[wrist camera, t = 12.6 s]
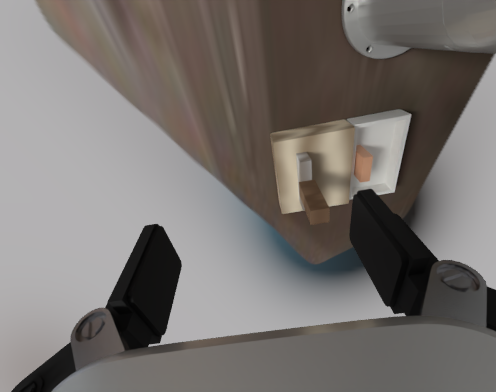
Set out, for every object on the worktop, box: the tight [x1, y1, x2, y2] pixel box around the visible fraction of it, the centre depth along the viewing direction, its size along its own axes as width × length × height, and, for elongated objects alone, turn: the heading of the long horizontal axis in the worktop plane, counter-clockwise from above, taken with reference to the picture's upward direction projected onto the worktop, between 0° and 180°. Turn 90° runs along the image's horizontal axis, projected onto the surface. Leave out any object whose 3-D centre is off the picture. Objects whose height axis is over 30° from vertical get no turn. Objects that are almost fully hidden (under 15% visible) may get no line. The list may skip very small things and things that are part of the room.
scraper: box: [296, 152, 330, 225], centre depth 34 cm, size 2×9×10 cm, turn 10°
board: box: [270, 119, 355, 214], centre depth 40 cm, size 12×14×4 cm
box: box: [347, 109, 412, 200], centre depth 39 cm, size 8×14×3 cm, turn 10°
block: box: [354, 145, 373, 183], centre depth 38 cm, size 4×4×2 cm
